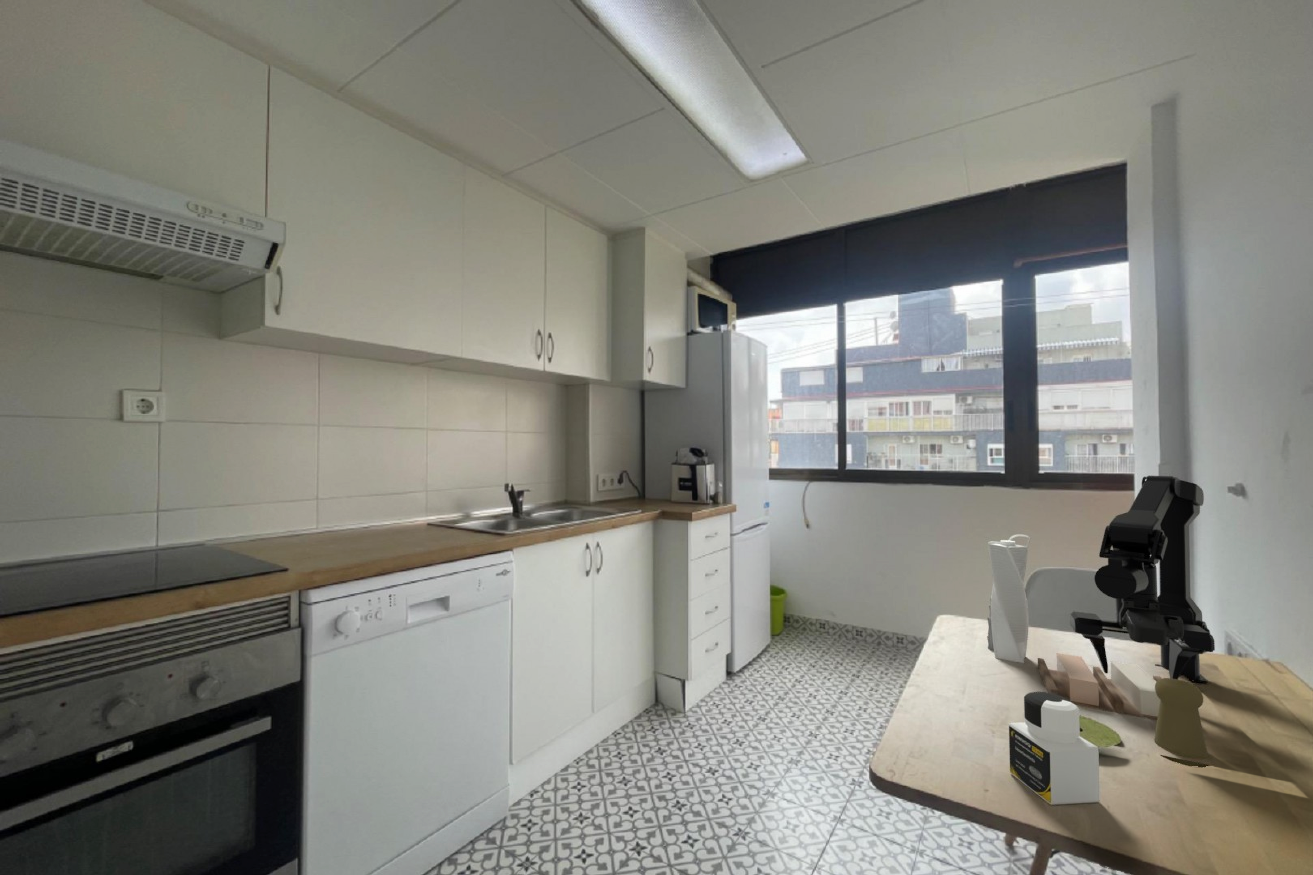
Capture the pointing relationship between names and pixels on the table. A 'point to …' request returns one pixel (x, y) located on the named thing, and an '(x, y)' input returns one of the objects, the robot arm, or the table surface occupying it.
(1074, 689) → the light brown wooden block
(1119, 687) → the clay strip
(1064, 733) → the medicine bottle
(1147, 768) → the table surface
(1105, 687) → the drying rack
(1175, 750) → the cork
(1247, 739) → the table surface
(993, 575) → the skyscraper
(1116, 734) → the mat
